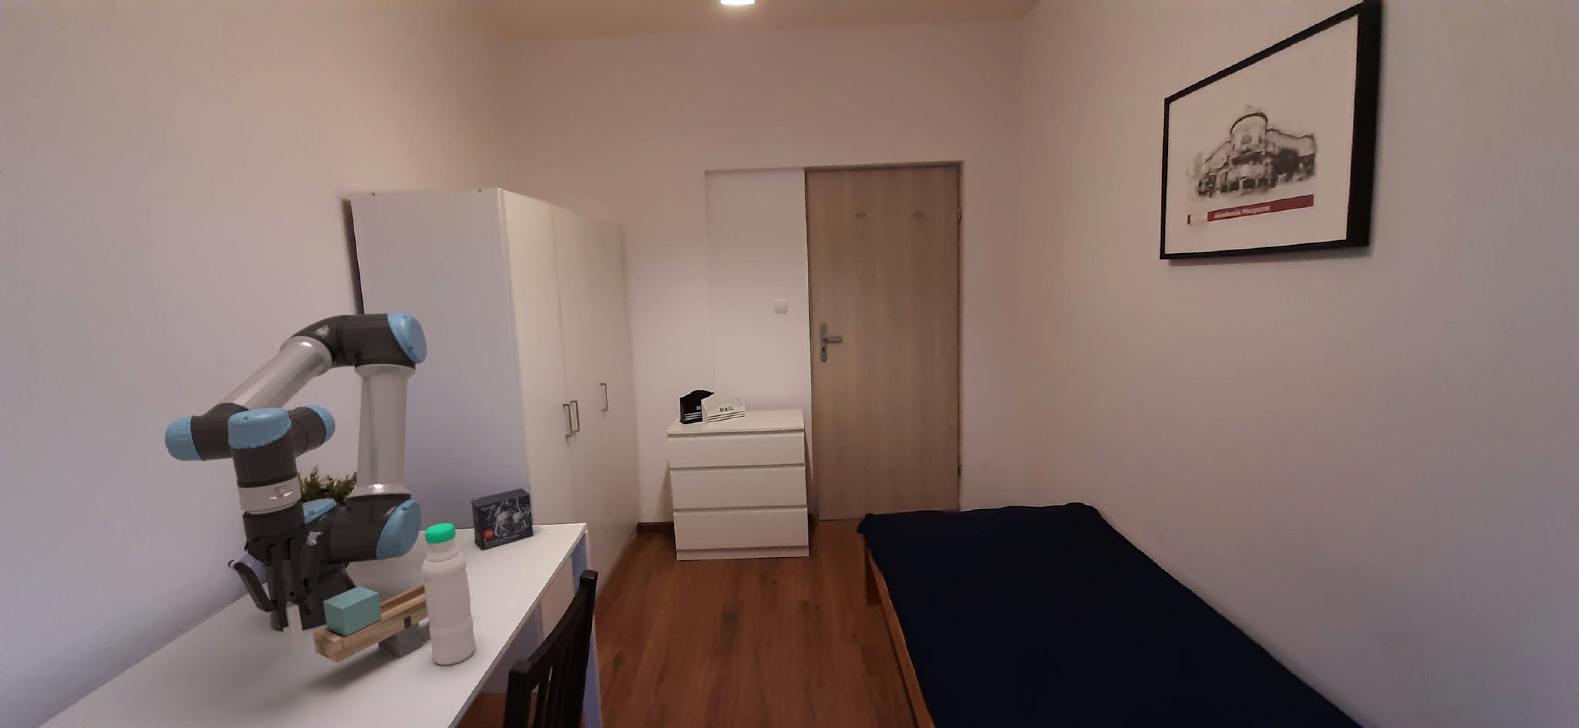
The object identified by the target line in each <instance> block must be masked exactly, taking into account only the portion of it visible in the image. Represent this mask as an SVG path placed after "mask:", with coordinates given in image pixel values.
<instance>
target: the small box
mask: <svg viewBox="0 0 1579 728" xmlns="http://www.w3.org/2000/svg"><path fill="white" fill-rule="evenodd" d="M531 505H532V504H531V496H530V493H528V492H527V491H526V490H525V489H524V488H516V489H512V490H508V491H504V492H499V493H495V494H491V495H486V496H482V497H477V498H472V499H471V508H472V509H471V510H472V520H473V531H474V532H473V533H474V534H473V535H474V543H475V544H476V545H477V546H478V547H479V549H480V550H481V551H485V550H490V549H491V548H495V547H499V546H502V545H506V544H510V543H513V542H517V541H520V540H523V539H528V538H532V537H534V531H533V521H532V520H533V518H532V507H531Z"/></svg>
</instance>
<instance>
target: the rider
mask: <svg viewBox="0 0 1579 728" xmlns="http://www.w3.org/2000/svg"><path fill="white" fill-rule="evenodd" d="M380 601H381V600H380V595H379V592H377V591H375V590H371V589H369V588H366V587H364V586H361V585H358V586H356V588H354V589H351V590H349V591H347V592H344V593H342V594H340V595H337V596H335V597H332V598H330V599H328V600H325V601H323V603H324V610H325V616H326V623H325V624H326V628H329V629H331V630H333V631H334V633H335V635H337V636H340V637H343V636H347V635H349V634H352V633H354V632H356V631H358V630H360V629H362V628H364V627H366V626H368V625H370V624H372V623H374V622H376V621H379V620H381V619H382V616H381V608H380V603H381V602H380Z"/></svg>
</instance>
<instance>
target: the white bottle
mask: <svg viewBox="0 0 1579 728" xmlns="http://www.w3.org/2000/svg"><path fill="white" fill-rule="evenodd" d="M456 535H457V534H456V528H455V526H454V524H452V523H450V522H449V523H448V522H446V523H445V522H444V523H438V524H434V525H432V526H429V527H428V528H426V530H425V532H424V536H425V538H424V539H425V541H426V544H427V545H428V547H429V549H428V551H427V553H426V555H425V559H424V561H423V564H422V567H421V573H422V576H423V579H424V581H423V583H424V588H425V598H426V606H427V612H428V617H427V618H428V620H429V636H430V640H431V644H432V645H431V652H432V653H431V654H432V660H433V661H434V662H435V663H436V664H438V665H442V666H449V665H455V664H459V663H461V662H463V661H464V660H467V659H468V658H469V657H470V656H472V654H473V653H474V652H475V650H476V637H475V633H474V620H473V619H474V618H473V616H472V613H471V594H470V585H469V578H468V574H467V573H468V572H467V569H466V567H467V560H466V557H465V555H464V554H463V553H462V551H461V550H460V548H459V547H458V546H457V544H455V543H454V540H456Z"/></svg>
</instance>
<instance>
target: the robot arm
mask: <svg viewBox="0 0 1579 728" xmlns="http://www.w3.org/2000/svg"><path fill="white" fill-rule="evenodd" d="M427 346H428V345H427V339H426V336H425V333H424V330H423V328H422V325H421V323H420V322H419V320H418V319H417V318H416V317H415V316H413V315H412V314H410V313H406V312H400V313H399V312H391V311H390V312H387V313H364V314H340V315H334V316H330V317H327V318H323V319H320V320H318V321H316V322H314V323H311V324H309V325H308V326H305V327H304V328H302V329H300V330H299V331H297V332H295V333H294V334H292V335H290V337H288V338H287V339H286V340H285V341H284V342H283V343H282V344H281V345H280V348H279V350H278V351H279V353H277V354H276V355H275V356H273V357H272V358H271V359H270V360H269V361H267V362H266V363H265V364H263V365H262V366H261V367H260V368H259V369H258V370H256V371H255V372H254V373H253V374H252V375H250V376H249V377H248V378H246V379H245V380H244V381H243V382H242V383H241V384H239V385H238V386H237V387H236V388H235V389H233V390H232V391H231V392H230V393H228V394H227V395H226V396H225V397H223V398H222V399H221V400H220V401H219V402H217V403H216V404H215V405H214V406H213V407H211V408H210V409H208V410H207V411H206V412H205V413H204V414H202V415H193V414H191V415H190V416H184V417H179V418H177V419H174V420H173V421H171V422H170V424H169V425H168V427H166V428H167V429H166V431H165V434H164V445H165V446H164V447H165V448H166V449H167V451H168V454H169V455H170V456H171V457H172V458H174V460H177V461H179V462H181V461H183V462H189V461H190V462H193V461H196V462H197V461H201V462H207V461H214V460H224V459H225V460H227V459H228V460H229V459H232V463H233V465H234V466H233V468H234V473H235V477H236V485H237V492H238V497H239V506H240V510H242V511H244V512H243V514H242V521H243V528H244V533H245V538H246V542H245V543H244V544H245V545H244V548H243V551H244V552H242V554H241V555H239V556H238V558H236V559H231V560H230V561H228V563H227V566H228V568H230V569H232V570H233V571H234V572H236V573H237V574H238V576H239V578H240V579H241V581H242V583H243V585H244V586H245V589H246V591H247V592H248V594H249V595H250V598H251V600H252V601H253V602H254V605H255V606H256V608H257V609H258V610H261V612H265V613H269V618H270V619H269V620H270V625H271V627H272V628H273V629H274V630H278V631H282V632H283V635H284V642H285V643H286V644H289V645H290V646H292V647H295V646H297V645H300V644H301V643H303V642H305V640H304V639H305V638H304V634H303V630H305V629H310V628H314V627H318V626H321V625H323V624H327V623H326V616H325V610H324V603H323V601H325V600H328V599H330V598H332V597H335V596H337V595H340V594H342V593H344V592H347V591H349V590H351V589H354V588H356V587H357V585H356V583H355V582H354V580H353V579H352V577H351V576H350V574H349V572H348V571H347V569H346V566H345V564H349V563H359V562H367V561H384V560H385V561H386V560H387V559H393V558H399V557H402V556H405V555H406V554H408V553H409V552H410V551H411V550H412V549H413V548H414V545H415V543H416V541H417V540H418V537H419V533H420V532H421V531H420V530H421V525H422V517H423V516H422V511H421V509H422V508H421V506H420V504H419V502H418V501H417V500H413V499H412V493H411V491H410V490H409V489H407V488H406V487H405V485H404V478H405V477H404V476H405V474H404V473H405V455H406V454H405V451H406V430H407V429H406V422H407V404H408V403H407V401H408V399H407V398H408V394H407V393H408V380H409V379H410V378H412V376H414V375H415V374H416V367H417V364H418V365H419V364H421V363H424V362H425V361H426V357H427V355H428V347H427ZM343 367H354V373H355V374H356V375H358V376H359V377H360V378H361V390H360V391H361V392H360V393H361V394H360V395H361V396H360V409H359V410H360V411H359V412H360V413H359V428H358V429H359V430H358V432H359V433H358V445H357V446H358V448H357V450H358V451H357V463H356V464H357V466H356V486H355V489H354V490H353V491H352V492H351V493H350V494H348V495H347V496H346V504H345V505H346V506H337V505H338V503H337V502H336V500H335V499H334V498H321V499H320V498H319V499H314V500H311V501H307V502H303V501H301V500H300V499H301V497H302V493H301V492H302V491H301V486H300V481H299V475H298V468H297V461H296V458H298V457H300V456H301V455H304V454H306V453H309V452H310V451H313V450H315V449H317V448H320V447H321V446H323V444H326V443H327V442H329V440H330V439H331V438H332V437H333V436H334V434H335V431H336V420H335V418H334V416H333V414H332V413H331V412H330V411H328V409H326V408H324V407H322V406H320V405H313V404H309V405H305V406H297V407H295V408H293V409H289V410H286V409H285V408H283V407H284V406H285V405H286V404H287V403H289V401H290V400H291V399H292V398H294V397H295V395H297V394H298V393H299V391H301V390H302V389H303V388H304V387H305V386H306V385H307V384H308V383H309V382H311V380H313V378H316V377H319V376H323V375H324V374H326V373H327V372H328V371H329V370H332V369H337V368H343ZM252 558H254V559H255V560H257V561H258V562H260V563H261V564H262V567H263V569H264V571H265V577H266V578H265V580H266V584H267V590H268V593H267V592H266V591H265V589H264V586H263V585H262V583H261V581H260V580H259V578H258V576H257V574H256V572H255V571H254V570H253V568H252V567H253V560H252ZM267 594H268V595H267Z"/></svg>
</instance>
